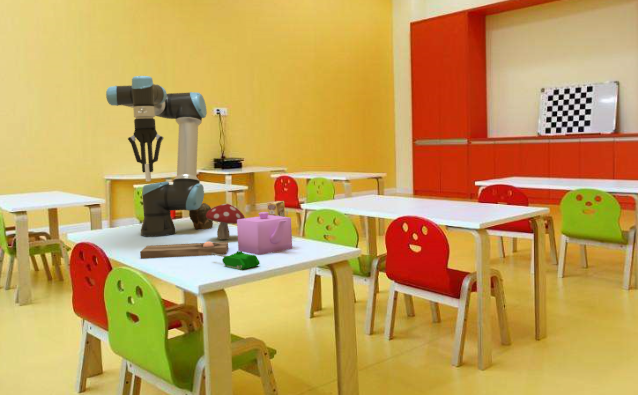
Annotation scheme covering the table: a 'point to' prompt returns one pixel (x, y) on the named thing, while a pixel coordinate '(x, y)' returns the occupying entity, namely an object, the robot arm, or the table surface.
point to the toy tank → (239, 260)
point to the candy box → (276, 208)
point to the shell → (201, 217)
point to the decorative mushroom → (224, 218)
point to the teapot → (264, 234)
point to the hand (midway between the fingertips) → (148, 181)
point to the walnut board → (183, 250)
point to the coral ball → (208, 244)
